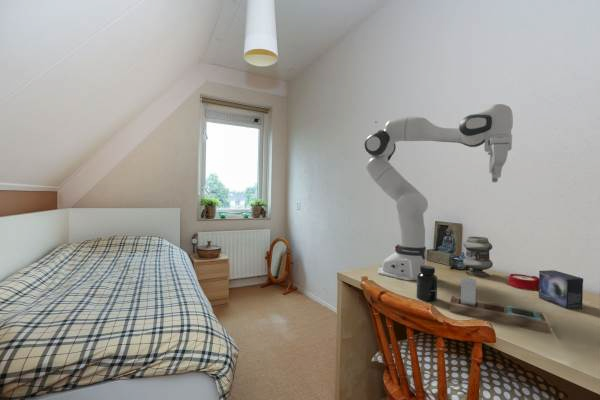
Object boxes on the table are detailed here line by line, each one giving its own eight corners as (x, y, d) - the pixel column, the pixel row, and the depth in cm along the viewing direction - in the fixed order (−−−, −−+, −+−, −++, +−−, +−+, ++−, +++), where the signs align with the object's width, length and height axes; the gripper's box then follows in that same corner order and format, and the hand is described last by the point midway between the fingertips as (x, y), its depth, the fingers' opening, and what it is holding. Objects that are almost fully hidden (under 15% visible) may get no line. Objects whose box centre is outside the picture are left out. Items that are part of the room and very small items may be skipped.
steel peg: (460, 310, 90) (461, 280, 90) (461, 306, 94) (461, 277, 94) (475, 313, 88) (475, 282, 88) (475, 309, 92) (475, 279, 91)
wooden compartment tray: (449, 313, 90) (449, 303, 90) (451, 304, 98) (451, 294, 97) (547, 334, 77) (547, 322, 77) (541, 321, 84) (542, 311, 84)
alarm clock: (500, 273, 125) (539, 268, 121) (503, 287, 125) (543, 282, 121) (511, 280, 115) (554, 275, 111) (514, 295, 115) (558, 290, 111)
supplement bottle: (435, 305, 97) (436, 270, 96) (414, 300, 100) (415, 267, 100) (438, 298, 103) (438, 266, 102) (418, 295, 106) (418, 263, 106)
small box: (536, 297, 105) (537, 270, 105) (552, 297, 105) (553, 269, 105) (566, 309, 94) (567, 278, 94) (583, 308, 95) (584, 278, 95)
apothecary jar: (458, 270, 142) (458, 235, 141) (482, 271, 141) (483, 235, 141) (471, 277, 130) (472, 239, 129) (498, 278, 129) (499, 239, 128)
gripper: (485, 153, 121) (484, 184, 120) (490, 137, 103) (488, 174, 102) (503, 152, 118) (502, 184, 117) (512, 136, 100) (510, 174, 99)
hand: (496, 179), depth 109 cm, fingers open, 8 cm apart
